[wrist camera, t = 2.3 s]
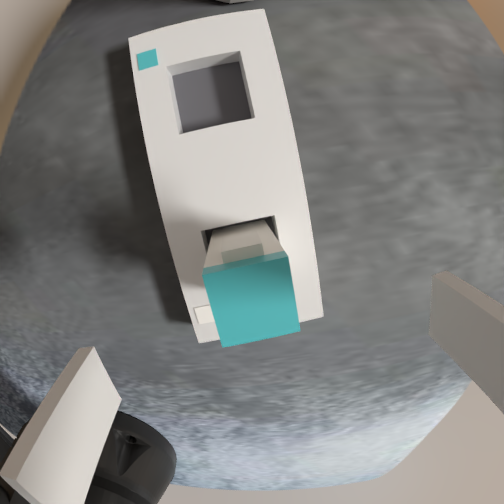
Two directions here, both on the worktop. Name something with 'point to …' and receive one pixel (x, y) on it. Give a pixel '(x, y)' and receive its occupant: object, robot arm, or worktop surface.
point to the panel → (222, 148)
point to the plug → (249, 284)
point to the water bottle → (233, 1)
